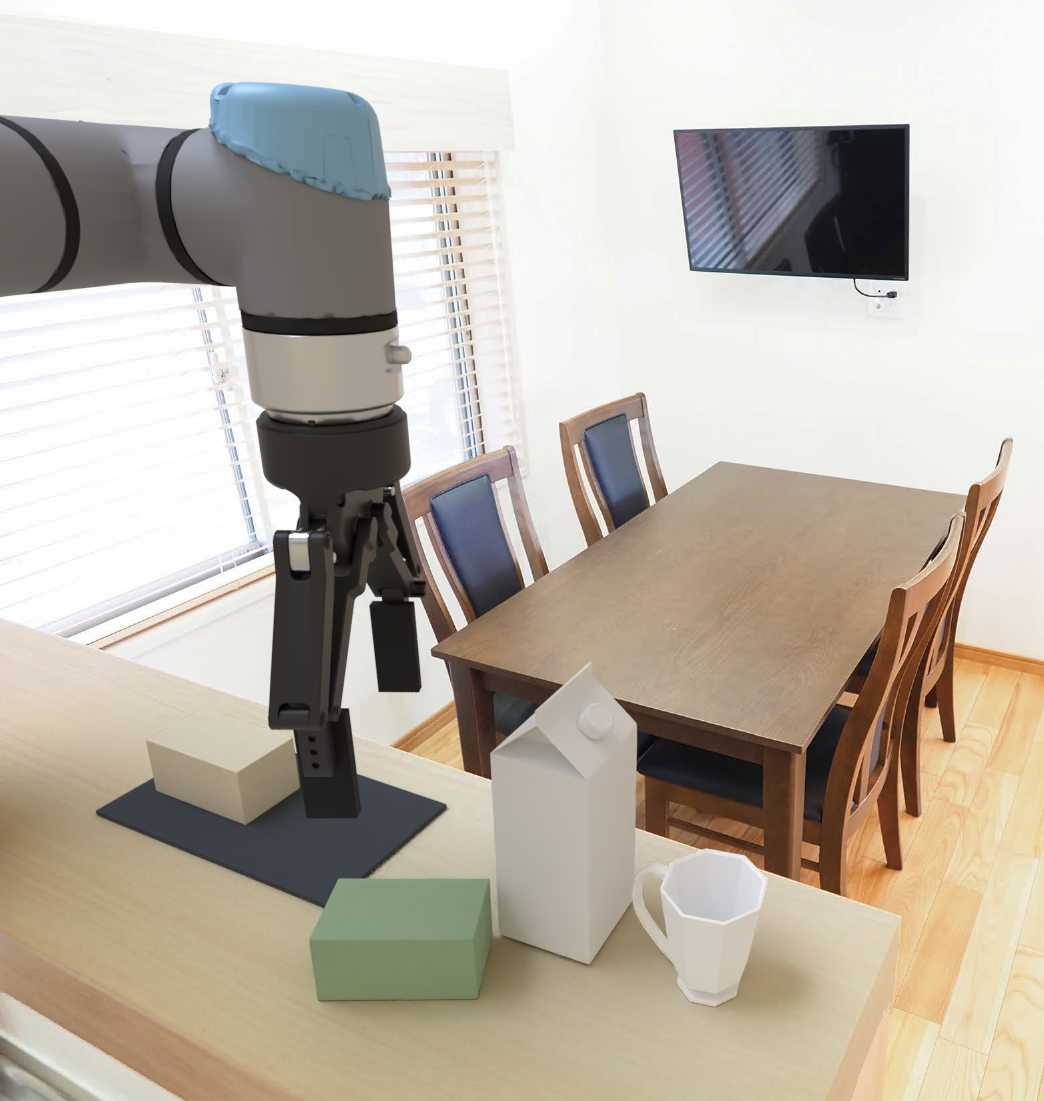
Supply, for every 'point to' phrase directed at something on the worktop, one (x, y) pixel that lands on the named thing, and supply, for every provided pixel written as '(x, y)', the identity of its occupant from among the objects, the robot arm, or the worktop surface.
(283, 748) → the cream block
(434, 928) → the green block
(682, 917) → the cup
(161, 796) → the mat
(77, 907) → the worktop surface
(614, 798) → the milk carton
